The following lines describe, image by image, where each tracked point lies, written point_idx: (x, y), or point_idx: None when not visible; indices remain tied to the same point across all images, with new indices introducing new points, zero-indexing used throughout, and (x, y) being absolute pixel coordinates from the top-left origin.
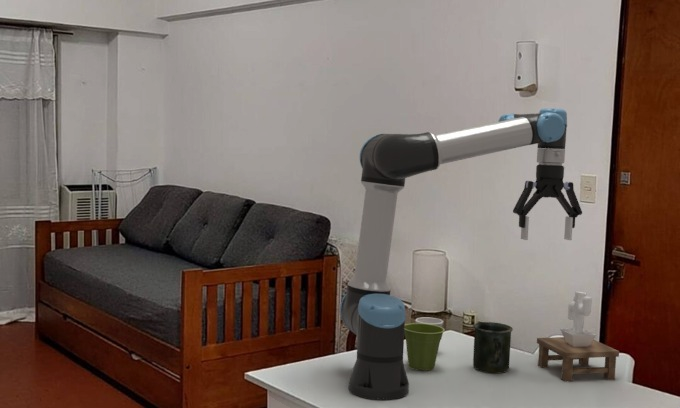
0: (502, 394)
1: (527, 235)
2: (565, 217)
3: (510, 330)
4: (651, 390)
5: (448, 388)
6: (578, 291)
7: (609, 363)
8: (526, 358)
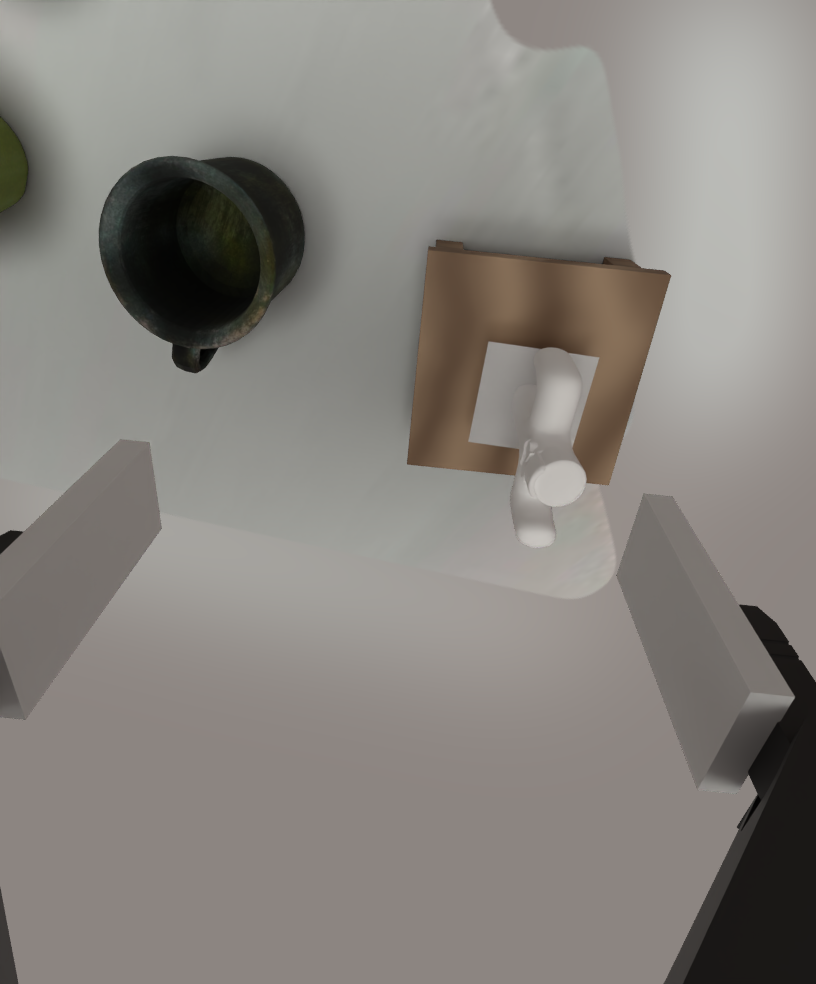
0: (182, 466)
1: (136, 555)
2: (740, 681)
3: (242, 335)
4: (605, 530)
5: (44, 391)
6: (556, 472)
7: None
8: (452, 126)
